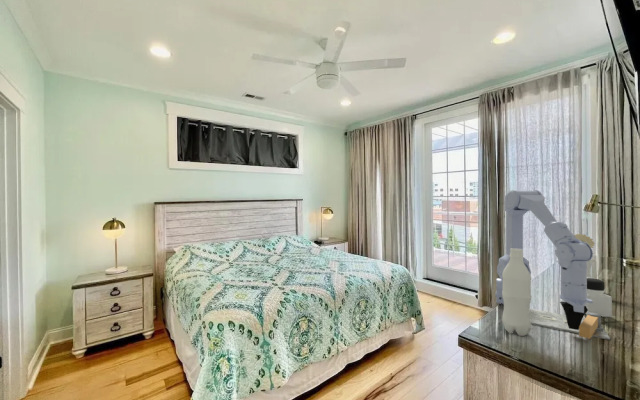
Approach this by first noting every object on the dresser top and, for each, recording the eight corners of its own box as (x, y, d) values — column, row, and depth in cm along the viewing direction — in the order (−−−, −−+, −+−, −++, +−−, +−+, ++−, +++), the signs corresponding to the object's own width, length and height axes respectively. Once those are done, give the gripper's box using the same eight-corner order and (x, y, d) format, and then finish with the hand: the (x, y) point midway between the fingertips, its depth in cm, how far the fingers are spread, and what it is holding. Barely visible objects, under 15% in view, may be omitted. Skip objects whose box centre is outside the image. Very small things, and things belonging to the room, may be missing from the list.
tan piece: (592, 340, 75) (592, 328, 75) (576, 336, 78) (576, 324, 78) (601, 325, 85) (601, 314, 85) (587, 321, 87) (587, 311, 87)
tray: (530, 324, 88) (530, 321, 88) (527, 309, 100) (527, 307, 100) (611, 340, 78) (611, 336, 78) (597, 322, 90) (597, 319, 90)
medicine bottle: (612, 317, 93) (612, 282, 93) (588, 315, 95) (587, 281, 95) (596, 309, 100) (596, 276, 100) (573, 308, 102) (573, 275, 102)
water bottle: (523, 340, 78) (523, 252, 78) (497, 329, 84) (497, 248, 84) (536, 334, 81) (536, 250, 81) (510, 324, 88) (510, 246, 88)
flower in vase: (613, 295, 115) (613, 236, 115) (586, 295, 115) (586, 236, 116) (584, 286, 128) (584, 232, 128) (559, 285, 128) (559, 232, 129)
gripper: (599, 292, 73) (599, 343, 73) (585, 279, 85) (585, 322, 85) (564, 287, 77) (564, 335, 77) (555, 275, 89) (555, 317, 89)
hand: (573, 328), depth 81 cm, fingers closed
